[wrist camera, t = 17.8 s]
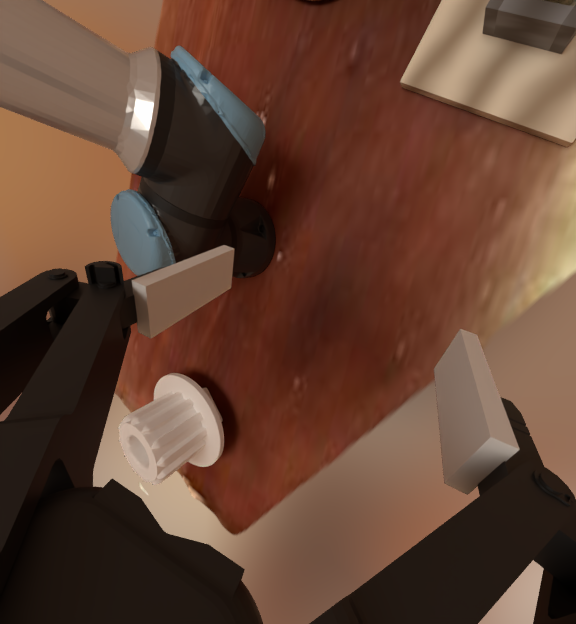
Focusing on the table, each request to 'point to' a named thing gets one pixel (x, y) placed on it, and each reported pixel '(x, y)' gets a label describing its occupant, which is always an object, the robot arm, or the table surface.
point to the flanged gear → (172, 430)
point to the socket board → (502, 63)
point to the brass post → (562, 1)
